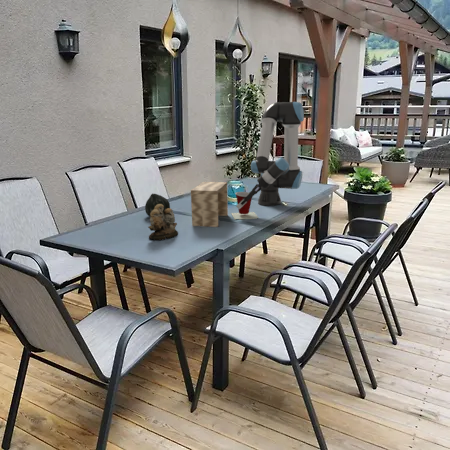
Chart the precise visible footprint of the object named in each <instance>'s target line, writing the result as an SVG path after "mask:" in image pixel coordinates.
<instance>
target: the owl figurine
mask: <svg viewBox="0 0 450 450" xmlns="http://www.w3.org/2000/svg"><path fill="white" fill-rule="evenodd" d="M163 209H164V206H163V205H162V204H158V205H156V206H155V208H154V210H153V211H151V213H150V216H151V217H150V216H149V222H150V225H149V226H147V228H148V229H149V230H150V231H152V232H151V233H150V234H149V235H148V239H150V240H153V241H164V240H170V239H173V238H176V237H177V236H178V235H179V232H178V230H177V229H176V226H177V225H178V223H177V222H176V217H175V213H174V212H173V211H174V210H173V209H172V208H171V207H170V208H167V209H165V211H164V212H163Z"/></svg>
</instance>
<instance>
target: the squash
mask: <svg viewBox="0 0 450 450" xmlns="http://www.w3.org/2000/svg"><path fill="white" fill-rule="evenodd" d="M158 204H162V205H163V206H164V209H163V212H164V211H165V209H167V208H171V205H170V202H169V200H168V199H167V198H166V197H164V196H162V195H161V194H157V193H151V194H150V195H149V198H148V199H147V200H146V202H145V206H144V207H145V208H144V209H145V213H146V215H147V216H148V217H149V218H151V216H150V213H151V211H153V210H154V208H155V206H156V205H158Z"/></svg>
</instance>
